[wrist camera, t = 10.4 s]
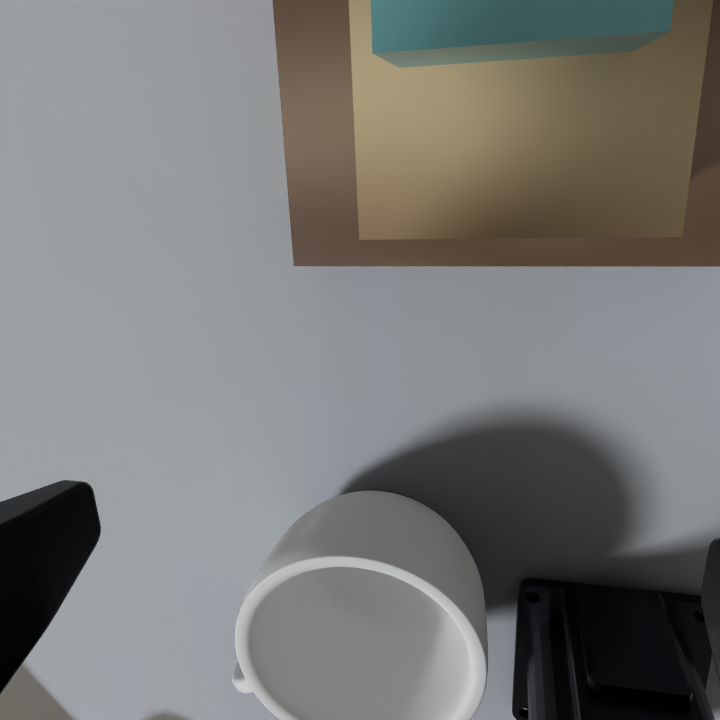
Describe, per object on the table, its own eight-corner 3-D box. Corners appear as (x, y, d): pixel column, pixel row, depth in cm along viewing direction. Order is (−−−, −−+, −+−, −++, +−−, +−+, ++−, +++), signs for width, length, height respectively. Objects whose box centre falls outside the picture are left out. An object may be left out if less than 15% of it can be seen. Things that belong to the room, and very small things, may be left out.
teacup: (413, 423, 22) (385, 511, 17) (533, 586, 23) (540, 714, 18) (211, 538, 25) (140, 638, 20) (324, 673, 27) (283, 798, 22)
